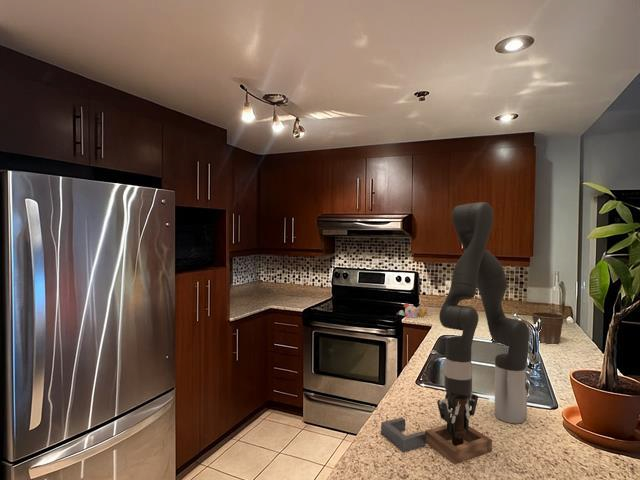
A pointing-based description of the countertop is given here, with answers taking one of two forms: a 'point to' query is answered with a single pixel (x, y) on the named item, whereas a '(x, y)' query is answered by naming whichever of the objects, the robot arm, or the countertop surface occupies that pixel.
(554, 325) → the plant pot
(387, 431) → the block
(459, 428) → the bolt
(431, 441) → the square frame block
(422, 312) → the pastel sphere sculpture
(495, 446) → the countertop surface
